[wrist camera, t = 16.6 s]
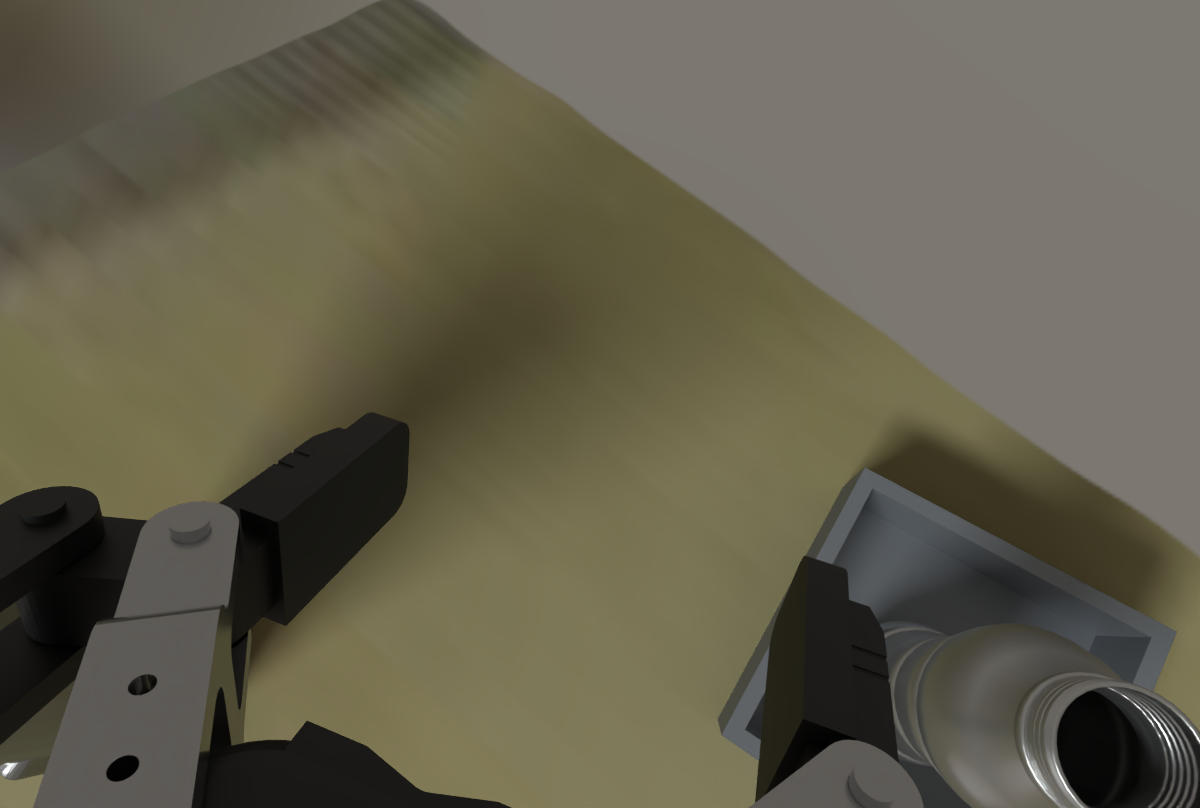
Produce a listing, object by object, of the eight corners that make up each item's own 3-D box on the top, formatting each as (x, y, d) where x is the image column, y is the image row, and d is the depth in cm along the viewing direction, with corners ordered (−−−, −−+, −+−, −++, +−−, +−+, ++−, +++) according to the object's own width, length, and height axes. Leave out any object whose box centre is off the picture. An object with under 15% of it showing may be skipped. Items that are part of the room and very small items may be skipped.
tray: (989, 904, 33) (1045, 957, 27) (717, 719, 37) (721, 735, 32) (1106, 630, 35) (1176, 631, 30) (842, 487, 40) (864, 467, 34)
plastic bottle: (864, 596, 37) (1042, 568, 18) (986, 667, 35) (1329, 720, 16) (809, 703, 35) (938, 795, 17) (933, 783, 34) (1238, 988, 15)
